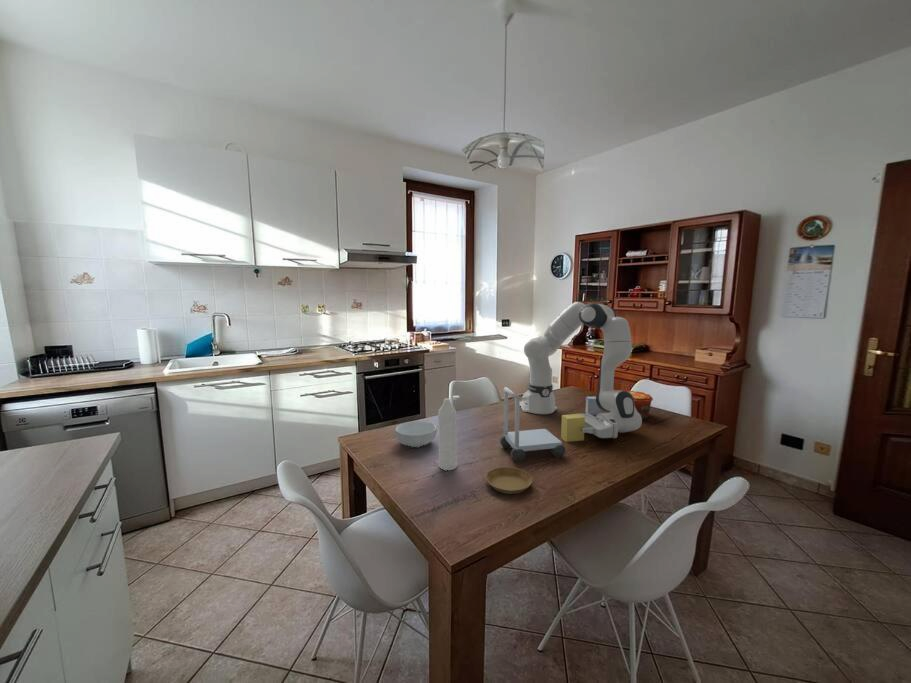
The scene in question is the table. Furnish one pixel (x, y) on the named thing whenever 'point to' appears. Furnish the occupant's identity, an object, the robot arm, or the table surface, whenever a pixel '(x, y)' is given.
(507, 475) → the plant saucer
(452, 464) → the water bottle
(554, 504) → the table surface
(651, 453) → the table surface
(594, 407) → the medicine box
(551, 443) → the trolley
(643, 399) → the food container
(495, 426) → the table surface
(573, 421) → the yellow rectangular block
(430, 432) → the cereal bowl
